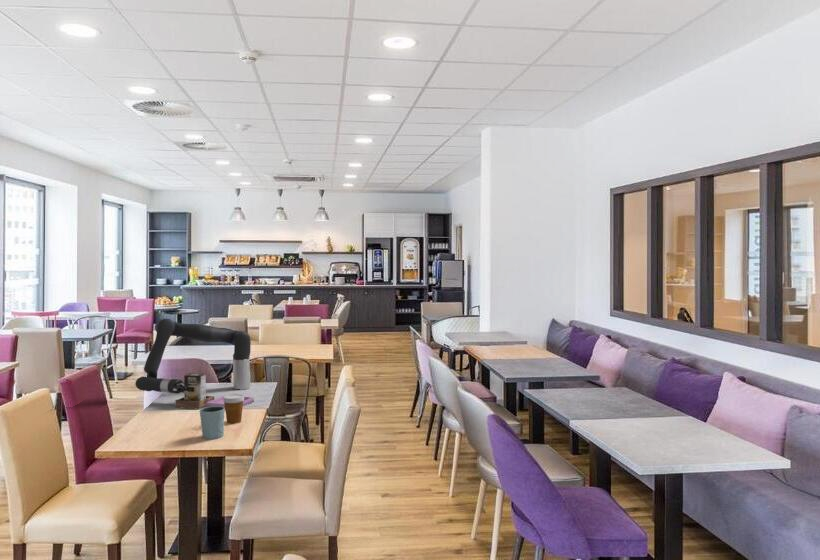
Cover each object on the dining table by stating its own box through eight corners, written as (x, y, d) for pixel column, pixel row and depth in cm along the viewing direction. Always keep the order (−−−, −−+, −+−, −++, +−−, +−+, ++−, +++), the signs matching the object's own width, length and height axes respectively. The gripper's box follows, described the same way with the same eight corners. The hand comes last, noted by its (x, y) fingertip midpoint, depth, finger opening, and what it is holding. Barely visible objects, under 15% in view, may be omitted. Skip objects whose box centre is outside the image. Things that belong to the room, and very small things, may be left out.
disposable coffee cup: (218, 423, 274) (218, 397, 274) (233, 418, 283) (233, 393, 282) (234, 425, 270) (233, 399, 269) (249, 420, 278) (248, 395, 278)
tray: (225, 399, 319) (225, 395, 319) (253, 402, 314) (253, 397, 314) (206, 407, 302) (206, 402, 302) (235, 410, 297) (235, 405, 297)
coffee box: (183, 406, 305) (183, 375, 304) (189, 403, 311) (189, 372, 310) (200, 406, 304) (200, 375, 303) (206, 403, 310) (206, 373, 309)
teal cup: (229, 436, 255) (229, 408, 254) (207, 441, 247) (207, 413, 247) (217, 431, 261) (216, 404, 261) (195, 436, 254) (195, 409, 253)
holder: (191, 401, 316) (191, 394, 315) (214, 403, 311) (214, 396, 311) (175, 407, 303) (175, 400, 303) (198, 409, 299) (198, 402, 299)
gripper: (162, 381, 304) (189, 383, 299) (180, 376, 318) (207, 378, 313) (162, 396, 304) (189, 398, 300) (180, 390, 318) (207, 392, 313)
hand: (198, 388), depth 306 cm, fingers closed on coffee box, 7 cm apart
